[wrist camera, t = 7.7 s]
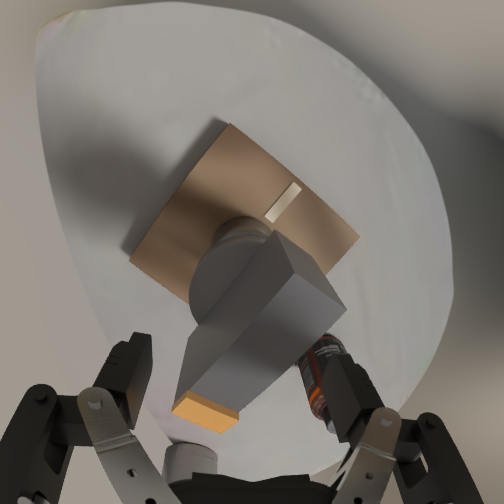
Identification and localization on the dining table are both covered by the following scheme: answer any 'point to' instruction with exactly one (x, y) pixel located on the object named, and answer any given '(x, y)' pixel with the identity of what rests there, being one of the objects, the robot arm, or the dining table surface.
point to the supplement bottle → (319, 375)
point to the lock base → (237, 213)
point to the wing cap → (249, 324)
